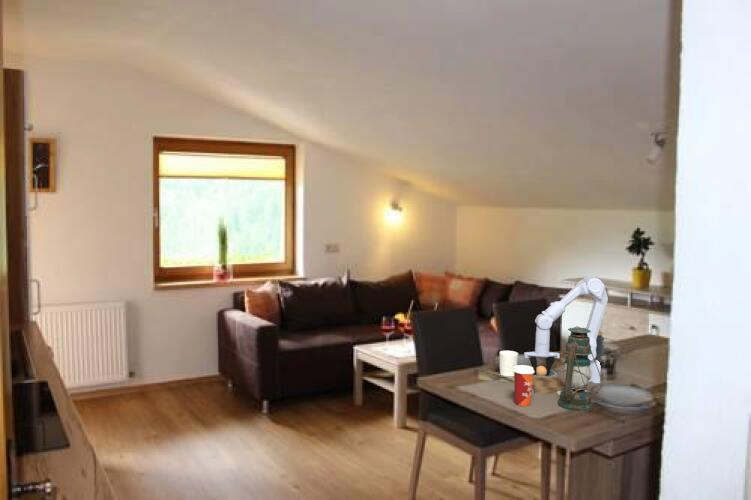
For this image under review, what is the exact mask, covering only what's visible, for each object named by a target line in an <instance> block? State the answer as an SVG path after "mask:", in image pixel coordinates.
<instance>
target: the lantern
mask: <svg viewBox="0 0 751 500" xmlns="http://www.w3.org/2000/svg"><path fill="white" fill-rule="evenodd" d="M585 328H586V327H580V326H578V325H577V326H573V327H569V328H567V329H568V331H569V332H570V335H568V338H567V342H566V343H565V349H564V350H563V351H564V352H566V353H567V356H566V357H565V360H564V367H563V371H562V372H563V375H562V376H563V381H564V382H565V387H564V388H563V389H562V390H563V391H561V392H560V395H559V398H558V400H557V406H558V407H560V408H562V409H563V410H567V411H572V412H589V411H588V410H590V411H592V410H593V409H594V404H593V402H592V394H593V395H594V394H595V393H596V394H598V392H599V390H601V388H602V386H603V379H602V376H601V374H600V372H599V370H598V372H599V375H600V382H601V383H600V387H598V388H597V389H596V390H594V391H593V392H590V390H589V389H588V388H587V386H588V381H590V379H591V376H592V372H591V370H590V365H591V363H590V359H588V355H590V354H592V351H591V345H590V338H589V337H588V335H587V333H590V332H591V331H590V330H588V329H585ZM592 356H593V354H592ZM593 359H594V356H593ZM594 361H595V359H594ZM595 364H596V361H595ZM596 366H597V364H596ZM597 369H598V367H597ZM590 373H591V376H590ZM590 382H591V381H590ZM585 390H587V391H588V390H589V391H588V392H585ZM592 408H593V409H592ZM591 409H592V410H591Z"/></svg>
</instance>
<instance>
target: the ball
mask: <svg viewBox="0 0 751 500" xmlns="http://www.w3.org/2000/svg"><path fill="white" fill-rule="evenodd" d="M546 374H547V369H546V366H544V365H538V366H536V375H537V376H545V375H546Z"/></svg>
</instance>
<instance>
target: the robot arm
mask: <svg viewBox="0 0 751 500" xmlns="http://www.w3.org/2000/svg"><path fill="white" fill-rule="evenodd" d="M589 293H590V295H591V297H592V298H593V303H592V307H591V310H590V313H589V317H588V320H587V324H586V327H585V328H586V329H588V330H590V331H591V332H590V333H587V335H588V337H589V338H590V345H591V351H592V354H593V356H594V359H595V358H596V346H597V344H596V339H597V335H598V332H599V330H600V328H601V324H602V322H603V318H604V315H605V311H606V308H607V305H608V301H609V297H608V295H607V294H608V293H607V289H606V286H605V284H604V282H602V280H601V279H600V278H597V277H596V276H594V275H591V274H590V275H589V274H588V275H586V276H584V277H583V279H581V280H579V281H578V282H577V283H576V285H574V286H573V287H572V289H570V291H568V292H567V293H566V295H564V297H562V298H561V299H560V300H559V301H558V300H557V301H554V302H553V301H552V302H550V304H549V306H548V307H547V308H546V309H545V310H542V311H541V313H540V314H538V315H536V318H535V320H534V322H535V324H536V331H535V347H534V351H527V352H524V353H523V357H524V358H525V359H528V360H529V362H530V364H531V365H530V366H531V367H533V369H534V371H535V372H534V375H536V368H537V367H538V366H537V364H538V360H537V358H539V359H541V358H543V359H545V368H546V369H547V375H549V372H550V370H552V366H553V365H554V363H555V362H556V359H560V355H561V354H560V353H559V352H553V351H550V336H551V328H552V325H553V322H555V321H557V319H559V318H560V316H562V315H564V313H565V312H566V307H567V306H569V305H570V304H572V302H574V301H575V300H576V299H577V298H579V297H580V296H582V295H588V294H589ZM592 354H590V355H588V359H590V363H591V365H590V370H591V372H592V376H591V373H590V376H591V379H590V381H588V382H592V383H593V384H601V379H600V376H601V375H602V374H601V372H602V371H601V370H602V369H601V368H602V364H601V365H600V362H599V361H598V360H595V361H596V364H597V366H596V364H595V361H594V359H593V356H592ZM597 367H598V369H597ZM598 370H599V372H600V375H599V372H598Z"/></svg>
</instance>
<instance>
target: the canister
mask: <svg viewBox="0 0 751 500" xmlns="http://www.w3.org/2000/svg"><path fill="white" fill-rule="evenodd" d="M584 328H585V329H586V327H584ZM603 334H604V333H603V332H602V331H601V330H600V329H599V332H598V335H597V339H596V344H597V346H596V358H595V360H597V358H598V357H600V356H603V357H604V350H605V349H604V347H605V344H604V341H605V337H604V336H603Z"/></svg>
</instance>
